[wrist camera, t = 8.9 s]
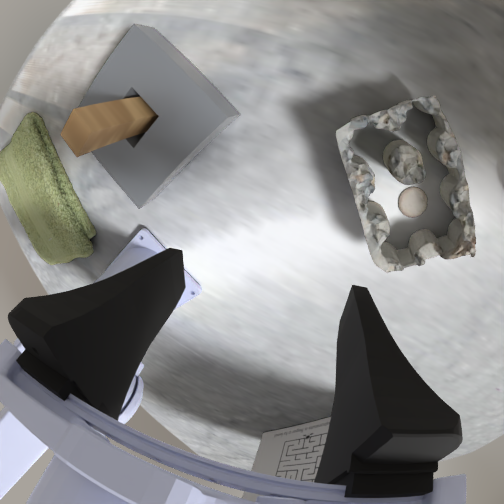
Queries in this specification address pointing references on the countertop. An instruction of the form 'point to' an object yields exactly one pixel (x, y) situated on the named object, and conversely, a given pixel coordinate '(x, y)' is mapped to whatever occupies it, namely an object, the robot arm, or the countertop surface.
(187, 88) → the charcoal socket block
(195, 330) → the countertop surface
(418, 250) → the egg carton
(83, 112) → the oak peg
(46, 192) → the washcloth
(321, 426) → the cereal box
